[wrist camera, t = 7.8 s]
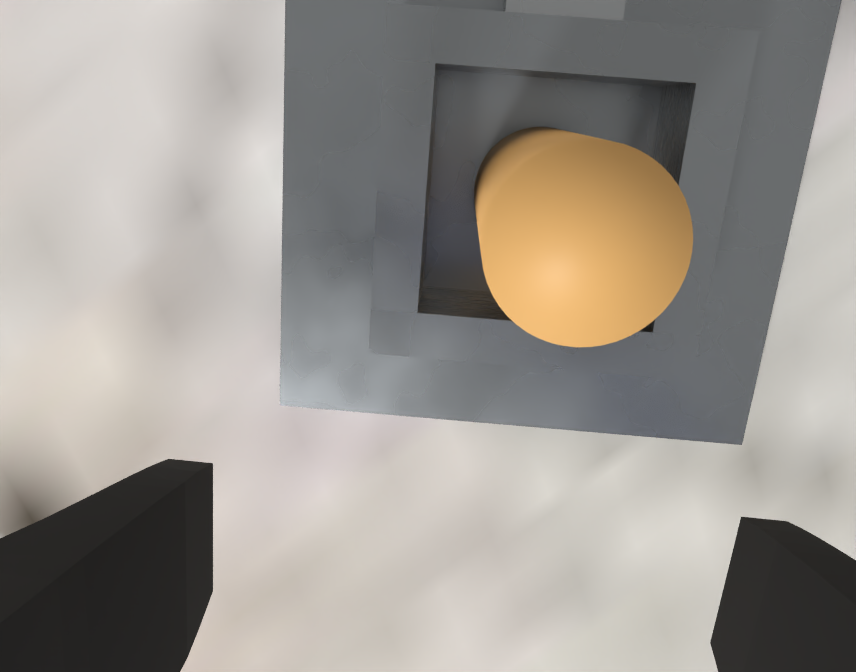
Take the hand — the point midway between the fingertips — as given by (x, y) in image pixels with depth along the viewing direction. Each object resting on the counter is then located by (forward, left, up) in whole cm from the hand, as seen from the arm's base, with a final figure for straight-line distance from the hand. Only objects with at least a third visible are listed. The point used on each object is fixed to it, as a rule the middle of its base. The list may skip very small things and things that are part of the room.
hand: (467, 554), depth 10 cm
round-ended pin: (-1, -4, -9) cm, 10 cm away
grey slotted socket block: (-1, -4, -10) cm, 11 cm away
